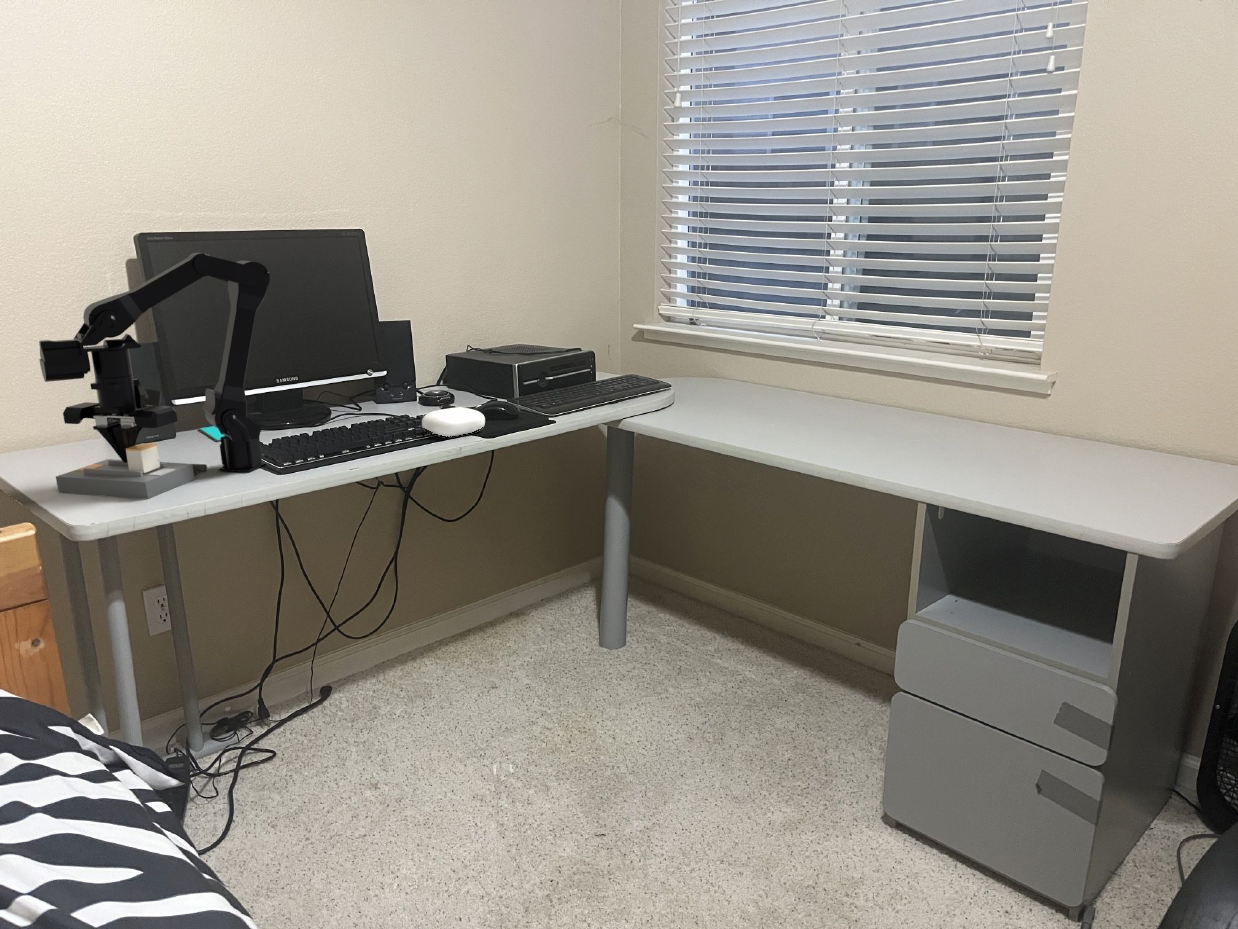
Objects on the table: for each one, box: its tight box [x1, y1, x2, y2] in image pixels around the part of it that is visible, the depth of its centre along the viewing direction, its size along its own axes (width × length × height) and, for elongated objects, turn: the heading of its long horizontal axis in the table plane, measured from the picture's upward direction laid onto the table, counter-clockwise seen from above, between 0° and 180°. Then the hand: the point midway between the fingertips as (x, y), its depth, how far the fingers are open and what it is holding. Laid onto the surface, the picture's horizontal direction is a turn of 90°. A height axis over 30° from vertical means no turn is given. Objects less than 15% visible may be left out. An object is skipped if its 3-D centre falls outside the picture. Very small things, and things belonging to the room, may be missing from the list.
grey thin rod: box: [191, 463, 208, 473], centre depth 166 cm, size 14×1×1 cm, turn 82°
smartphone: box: [198, 425, 225, 443], centre depth 196 cm, size 7×1×15 cm
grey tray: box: [55, 458, 195, 500], centre depth 156 cm, size 18×12×4 cm, turn 78°
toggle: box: [126, 442, 161, 473], centre depth 154 cm, size 3×4×4 cm
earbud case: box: [421, 406, 486, 438], centre depth 195 cm, size 10×13×5 cm
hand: (127, 462), depth 155 cm, fingers closed
